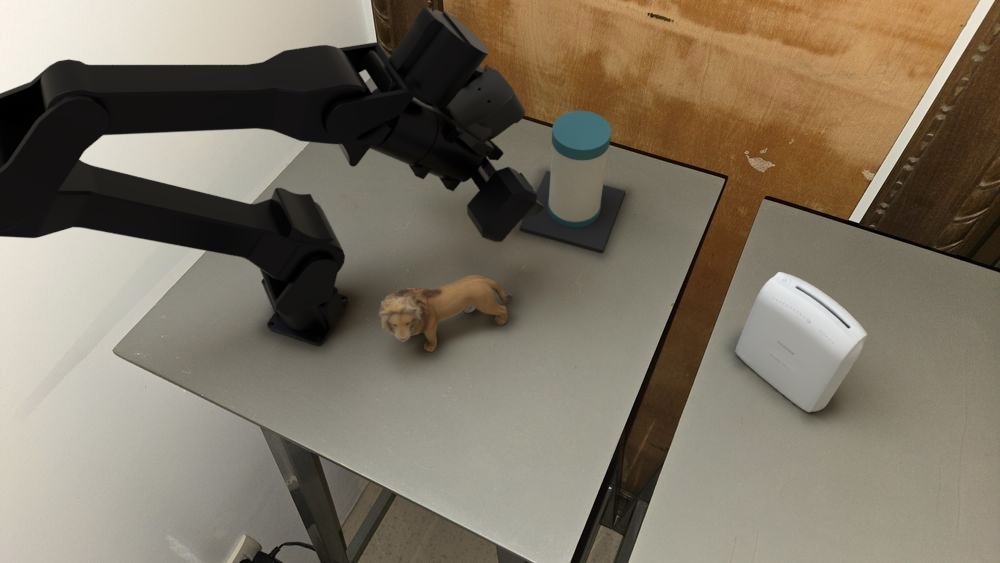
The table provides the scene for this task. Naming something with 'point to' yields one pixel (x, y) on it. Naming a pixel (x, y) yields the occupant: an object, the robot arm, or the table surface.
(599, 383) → the table surface
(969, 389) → the table surface
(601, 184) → the cylinder
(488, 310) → the lion figurine
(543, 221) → the mat
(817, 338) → the photo printer
